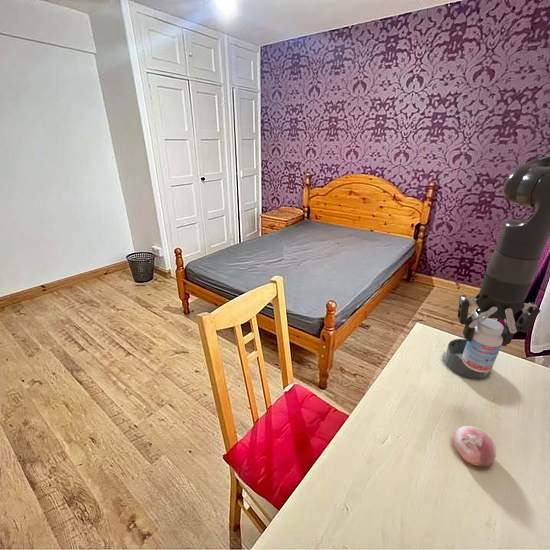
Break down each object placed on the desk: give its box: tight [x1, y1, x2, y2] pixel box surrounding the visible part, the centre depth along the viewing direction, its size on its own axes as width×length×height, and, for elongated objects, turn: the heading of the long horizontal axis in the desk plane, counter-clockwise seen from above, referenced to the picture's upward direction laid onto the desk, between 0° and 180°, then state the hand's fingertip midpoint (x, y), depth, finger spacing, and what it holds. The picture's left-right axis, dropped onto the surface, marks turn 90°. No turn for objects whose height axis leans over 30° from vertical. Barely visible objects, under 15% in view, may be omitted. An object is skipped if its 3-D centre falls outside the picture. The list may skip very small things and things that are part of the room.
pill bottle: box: [461, 318, 505, 373], centre depth 68 cm, size 6×6×11 cm
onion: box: [452, 425, 497, 467], centre depth 66 cm, size 8×8×7 cm
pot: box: [444, 338, 489, 380], centre depth 90 cm, size 11×11×6 cm
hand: (484, 341), depth 67 cm, fingers closed on pill bottle, 6 cm apart
